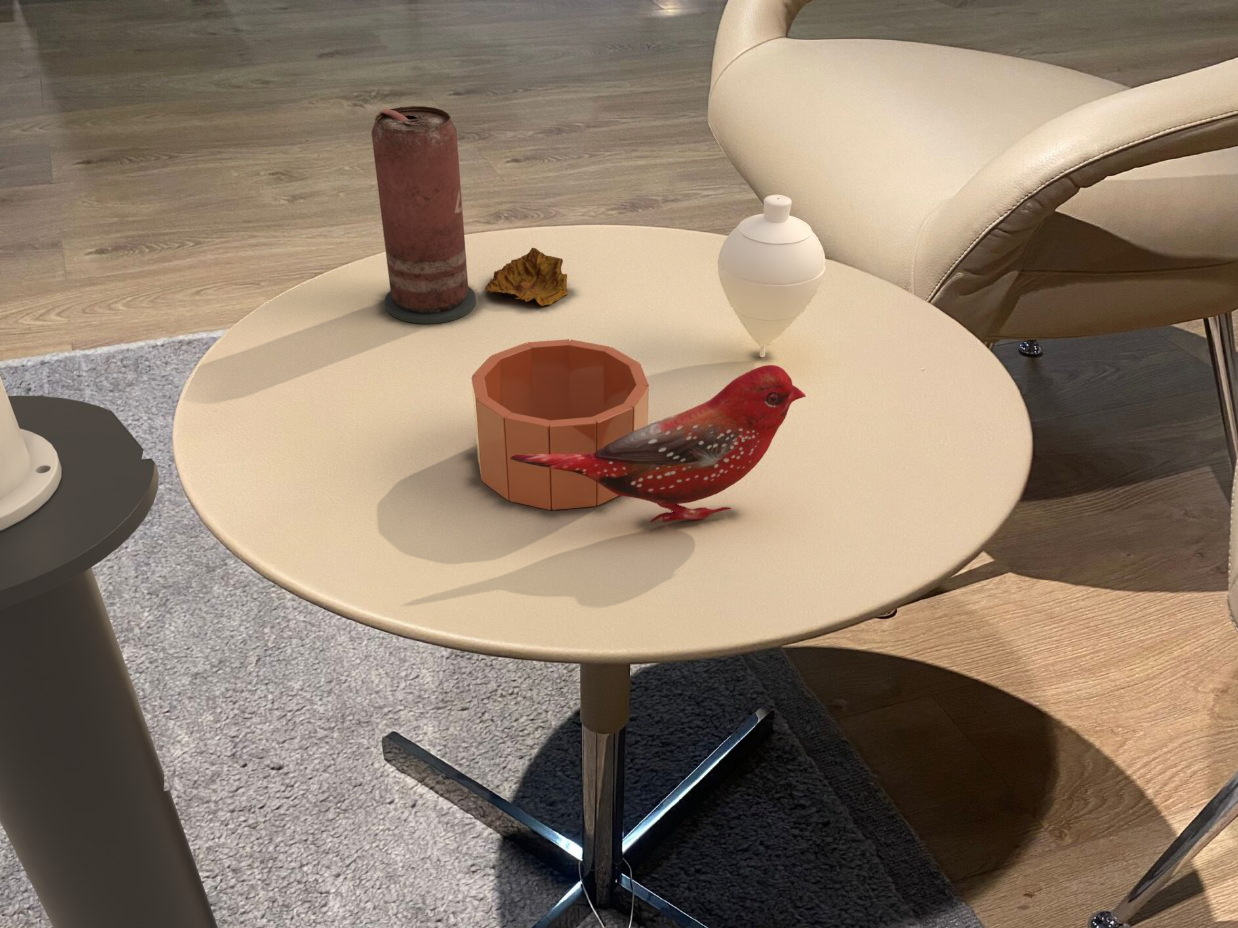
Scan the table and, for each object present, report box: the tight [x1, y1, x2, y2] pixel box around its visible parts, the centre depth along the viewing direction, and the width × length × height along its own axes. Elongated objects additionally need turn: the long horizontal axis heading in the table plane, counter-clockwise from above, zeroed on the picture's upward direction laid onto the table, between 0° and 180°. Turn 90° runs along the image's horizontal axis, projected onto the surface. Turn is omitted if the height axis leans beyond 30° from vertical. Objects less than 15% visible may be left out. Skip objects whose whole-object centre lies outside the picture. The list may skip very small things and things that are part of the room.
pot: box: [471, 338, 650, 511], centre depth 76 cm, size 11×11×6 cm
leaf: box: [484, 247, 569, 307], centre depth 97 cm, size 6×7×2 cm
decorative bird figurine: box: [510, 364, 807, 523], centre depth 70 cm, size 3×18×10 cm, turn 105°
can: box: [370, 105, 469, 313], centre depth 90 cm, size 6×6×14 cm
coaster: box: [384, 286, 477, 325], centre depth 95 cm, size 7×7×1 cm
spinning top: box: [717, 194, 826, 358], centre depth 86 cm, size 8×8×12 cm
